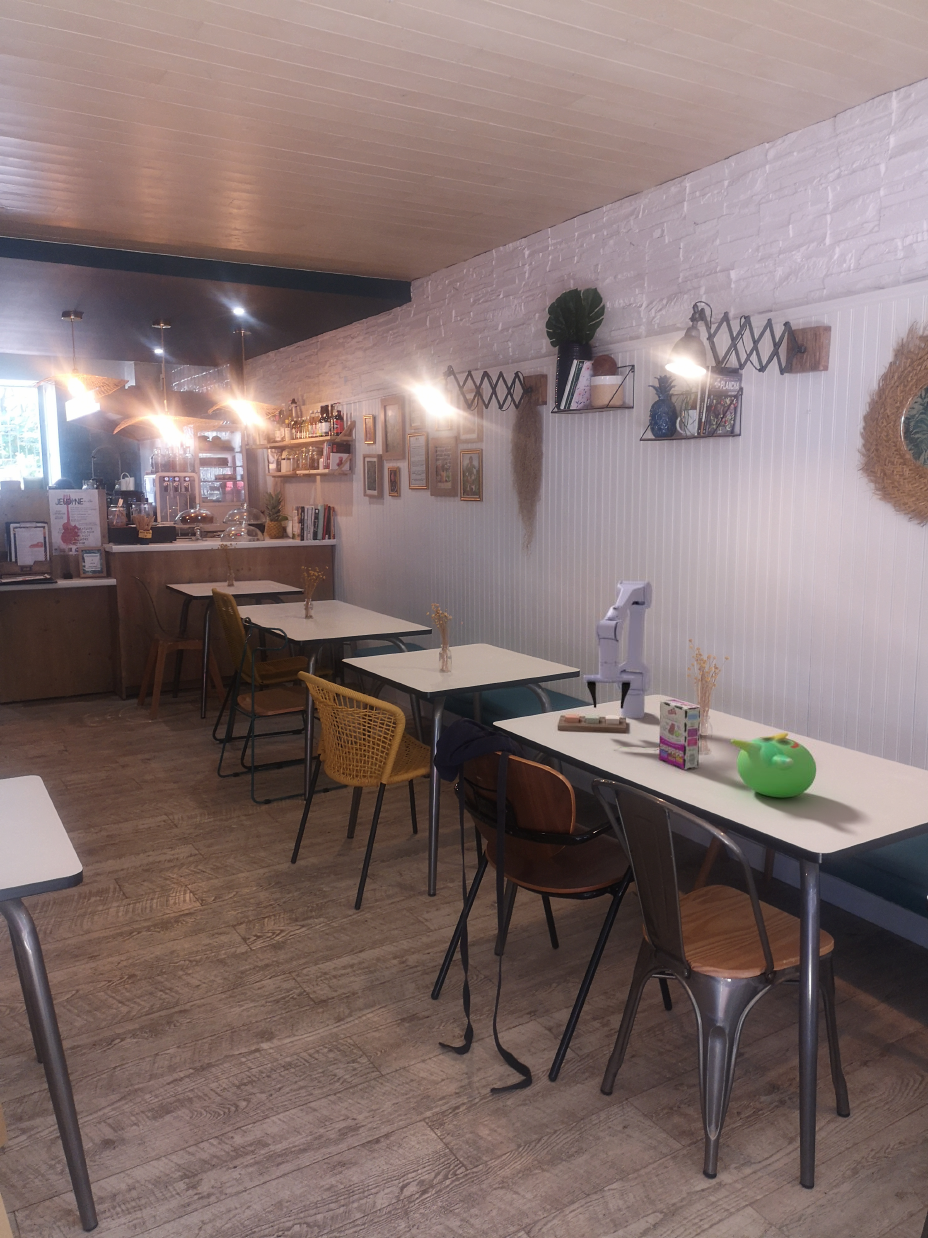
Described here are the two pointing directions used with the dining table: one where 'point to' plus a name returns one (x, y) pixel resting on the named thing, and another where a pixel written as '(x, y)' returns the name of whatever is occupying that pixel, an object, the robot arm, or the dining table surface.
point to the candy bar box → (679, 734)
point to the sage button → (592, 719)
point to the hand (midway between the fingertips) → (608, 707)
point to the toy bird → (775, 765)
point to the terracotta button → (572, 718)
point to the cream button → (612, 719)
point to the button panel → (592, 725)
